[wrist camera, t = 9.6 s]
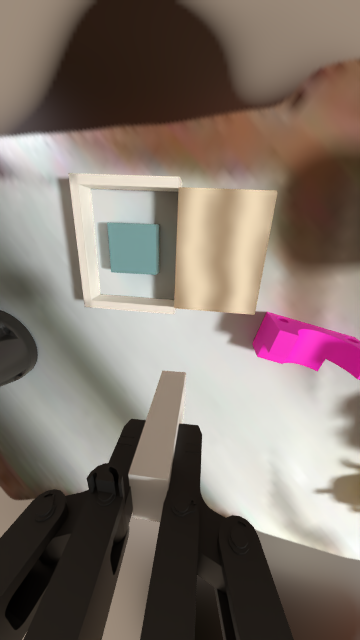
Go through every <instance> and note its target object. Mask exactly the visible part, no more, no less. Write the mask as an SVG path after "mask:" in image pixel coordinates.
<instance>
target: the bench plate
mask: <svg viewBox="0 0 360 640" xmlns="http://www.w3.org/2000/svg"><path fill="white" fill-rule="evenodd" d="M277 192H278V191H270V190H241V189H213V188H185V187H179V192H178V218H177V244H176V270H175V296H174V308H179V309H191V310H203V311H215V312H227V313H239V314H252V315H255V310H256V305H257V299H258V294H259V289H260V283H261V278H262V272H263V267H264V262H265V256H266V251H267V246H268V240H269V235H270V230H271V224H272V219H273V214H274V208H275V203H276V197H277Z"/></svg>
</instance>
